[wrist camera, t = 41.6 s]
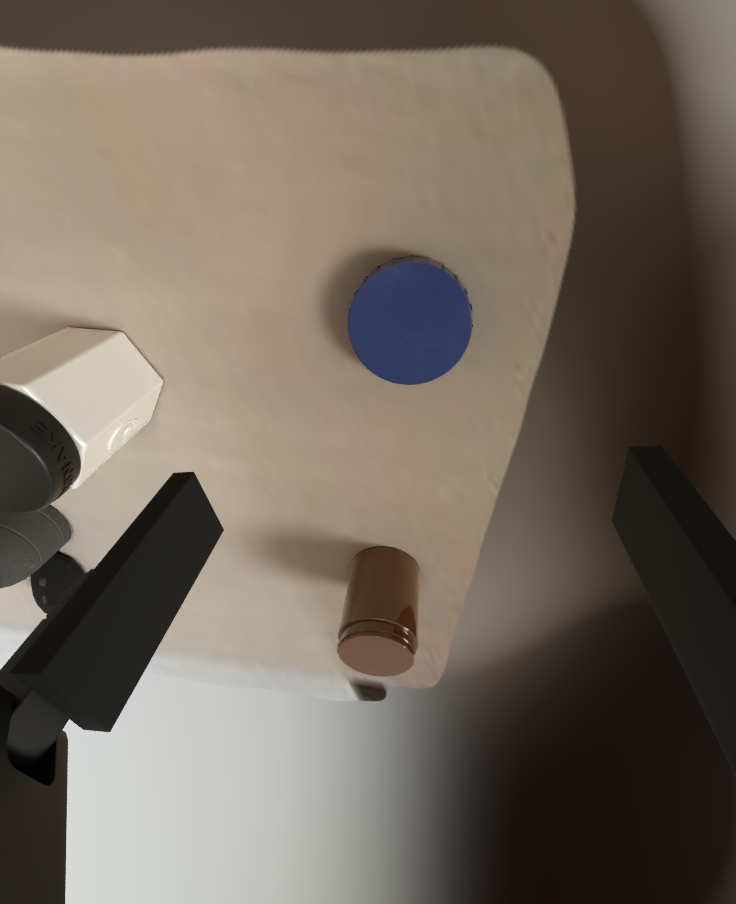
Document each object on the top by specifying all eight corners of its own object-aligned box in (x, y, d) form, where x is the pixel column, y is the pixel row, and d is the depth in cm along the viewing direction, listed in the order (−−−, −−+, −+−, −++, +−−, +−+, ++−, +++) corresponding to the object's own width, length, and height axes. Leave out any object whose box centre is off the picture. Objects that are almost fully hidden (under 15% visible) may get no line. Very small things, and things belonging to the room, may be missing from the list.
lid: (362, 380, 31) (359, 390, 29) (340, 266, 26) (335, 272, 25) (472, 369, 29) (474, 379, 28) (469, 245, 25) (471, 250, 23)
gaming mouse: (71, 536, 47) (44, 564, 43) (107, 611, 55) (87, 639, 52) (19, 527, 47) (-12, 555, 44) (63, 603, 56) (40, 630, 52)
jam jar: (404, 540, 40) (398, 628, 33) (429, 585, 44) (429, 674, 36) (340, 554, 43) (320, 639, 35) (368, 595, 46) (356, 681, 38)
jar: (148, 437, 37) (46, 537, 27) (56, 389, 35) (-88, 477, 25) (175, 360, 32) (62, 447, 22) (69, 300, 30) (-104, 366, 20)
